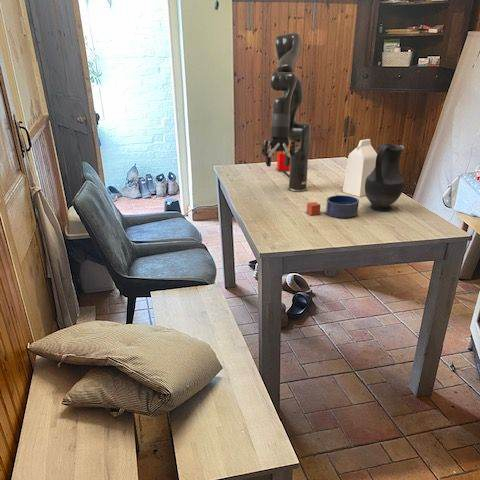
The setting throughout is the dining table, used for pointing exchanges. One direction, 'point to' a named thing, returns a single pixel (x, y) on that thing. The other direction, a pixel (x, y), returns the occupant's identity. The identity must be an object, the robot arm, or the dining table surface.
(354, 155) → the milk
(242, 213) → the dining table surface
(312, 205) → the block
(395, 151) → the pitcher
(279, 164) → the french fries container
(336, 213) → the bowl
